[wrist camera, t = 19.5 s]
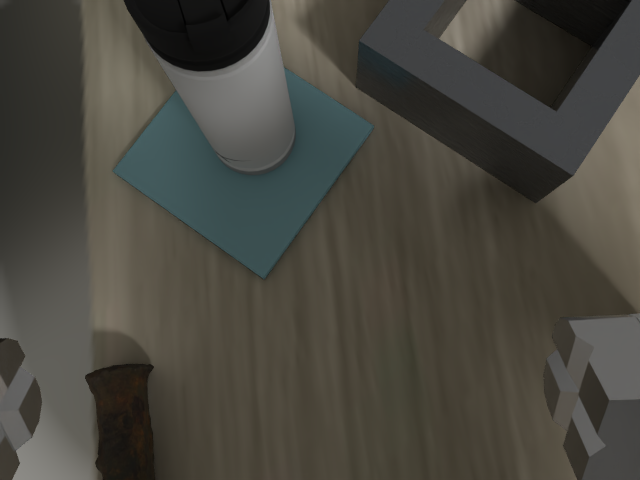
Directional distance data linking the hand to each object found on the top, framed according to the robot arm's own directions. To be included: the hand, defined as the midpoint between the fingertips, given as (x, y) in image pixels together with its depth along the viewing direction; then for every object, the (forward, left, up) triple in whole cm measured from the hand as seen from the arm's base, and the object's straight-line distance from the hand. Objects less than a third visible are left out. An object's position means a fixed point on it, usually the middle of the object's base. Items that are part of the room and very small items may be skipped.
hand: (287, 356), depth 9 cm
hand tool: (+4, +15, -34) cm, 37 cm away
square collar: (+2, -25, -33) cm, 42 cm away
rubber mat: (+14, -8, -33) cm, 37 cm away
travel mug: (+13, -10, -33) cm, 37 cm away
